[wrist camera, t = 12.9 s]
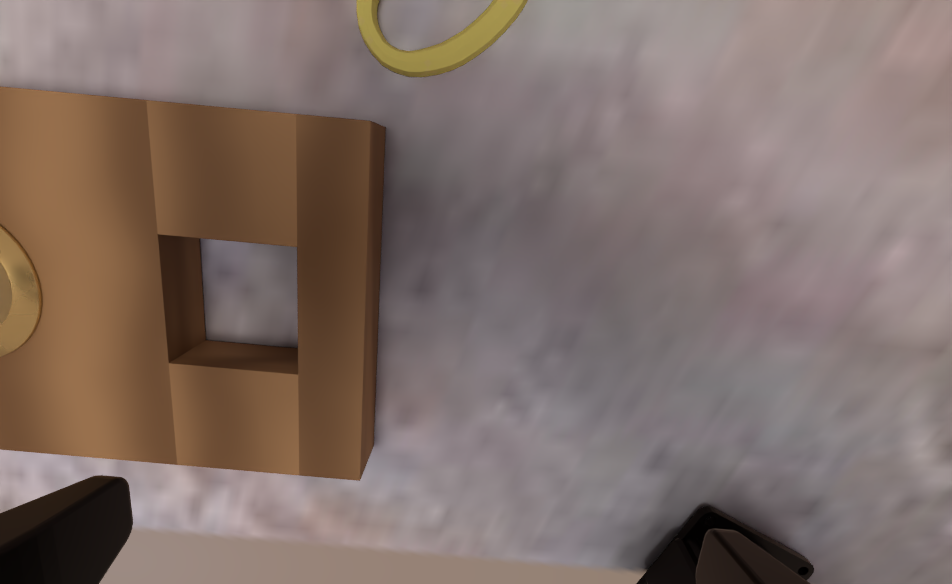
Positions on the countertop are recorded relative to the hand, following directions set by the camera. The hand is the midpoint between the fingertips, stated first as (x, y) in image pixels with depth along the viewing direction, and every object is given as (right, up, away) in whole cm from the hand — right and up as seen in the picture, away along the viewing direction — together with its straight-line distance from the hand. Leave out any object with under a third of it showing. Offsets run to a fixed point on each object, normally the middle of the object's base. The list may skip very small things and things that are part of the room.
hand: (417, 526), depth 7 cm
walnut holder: (-13, +4, +13) cm, 19 cm away
